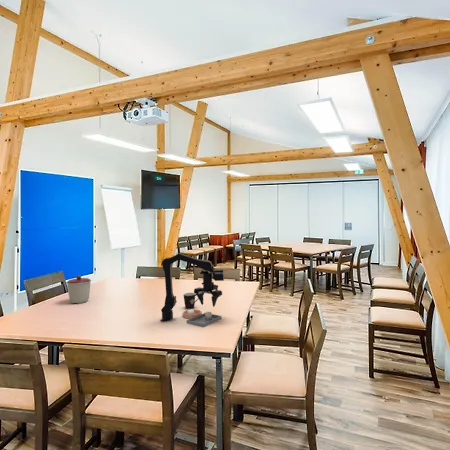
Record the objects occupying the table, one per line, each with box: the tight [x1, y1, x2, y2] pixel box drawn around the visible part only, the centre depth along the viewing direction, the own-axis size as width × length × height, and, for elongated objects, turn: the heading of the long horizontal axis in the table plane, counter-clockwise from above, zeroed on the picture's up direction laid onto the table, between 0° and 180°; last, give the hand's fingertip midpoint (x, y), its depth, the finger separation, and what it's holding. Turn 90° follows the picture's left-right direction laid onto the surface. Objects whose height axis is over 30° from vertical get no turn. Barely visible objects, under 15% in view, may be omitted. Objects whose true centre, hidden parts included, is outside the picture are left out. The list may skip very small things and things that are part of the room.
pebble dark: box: [204, 311, 213, 320], centre depth 202 cm, size 4×4×4 cm
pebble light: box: [187, 308, 194, 315], centre depth 208 cm, size 4×4×4 cm
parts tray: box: [186, 312, 222, 328], centre depth 199 cm, size 18×13×3 cm
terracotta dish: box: [181, 308, 203, 320], centre depth 210 cm, size 12×12×3 cm
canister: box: [65, 274, 92, 304], centre depth 254 cm, size 18×18×21 cm
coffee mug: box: [182, 292, 199, 310], centre depth 232 cm, size 12×9×10 cm
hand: (208, 305), depth 202 cm, fingers open, 9 cm apart
